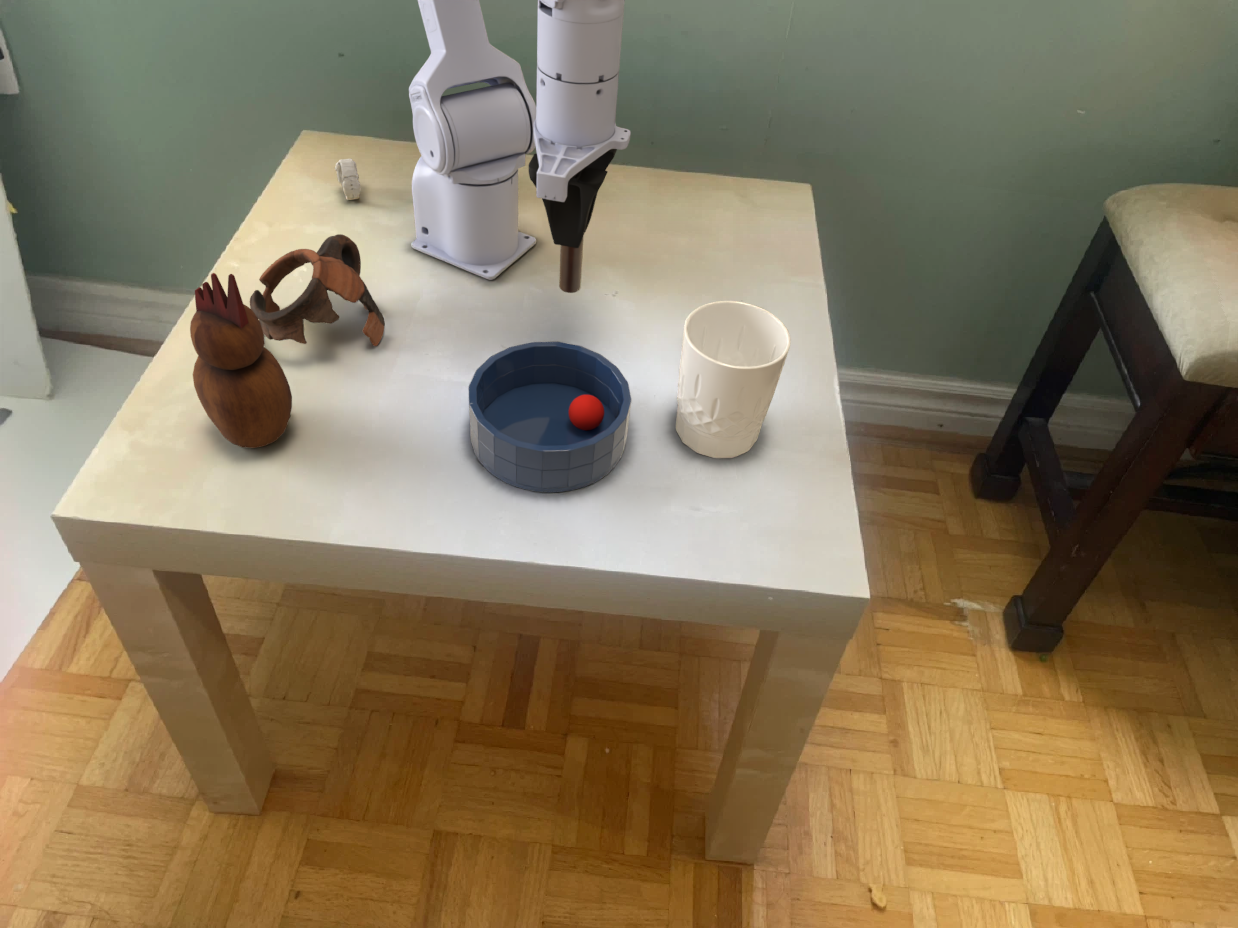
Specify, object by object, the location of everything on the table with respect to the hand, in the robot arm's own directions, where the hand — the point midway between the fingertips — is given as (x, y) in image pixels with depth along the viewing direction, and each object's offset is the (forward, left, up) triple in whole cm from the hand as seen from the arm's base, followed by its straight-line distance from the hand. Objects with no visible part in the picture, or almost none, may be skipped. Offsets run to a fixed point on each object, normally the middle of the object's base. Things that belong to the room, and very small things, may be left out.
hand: (570, 236), depth 73 cm
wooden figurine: (-14, -23, -11) cm, 29 cm away
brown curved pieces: (-18, -10, -11) cm, 23 cm away
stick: (0, 0, -5) cm, 5 cm away
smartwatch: (-30, +7, -11) cm, 32 cm away
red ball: (+7, -9, -9) cm, 14 cm away
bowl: (+5, -11, -11) cm, 16 cm away
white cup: (+16, -3, -11) cm, 20 cm away
